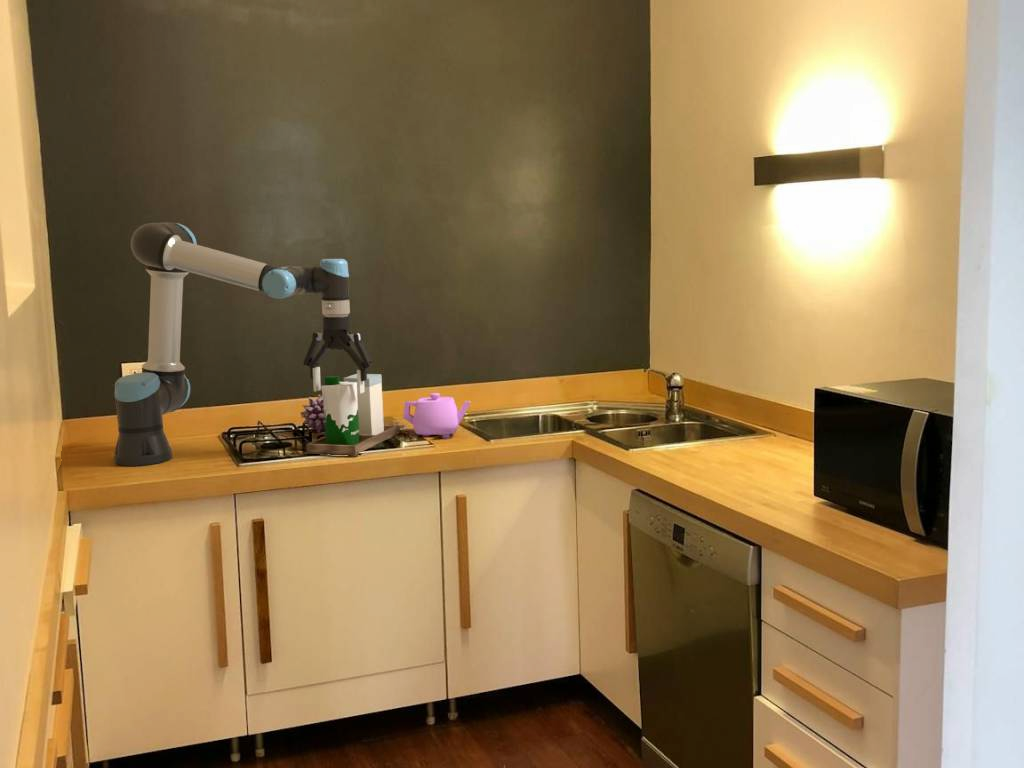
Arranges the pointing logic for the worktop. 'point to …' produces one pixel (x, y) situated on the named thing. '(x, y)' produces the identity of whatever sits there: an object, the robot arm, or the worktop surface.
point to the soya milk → (340, 411)
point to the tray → (352, 450)
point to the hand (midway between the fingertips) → (339, 391)
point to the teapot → (435, 415)
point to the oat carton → (370, 404)
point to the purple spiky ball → (314, 414)
